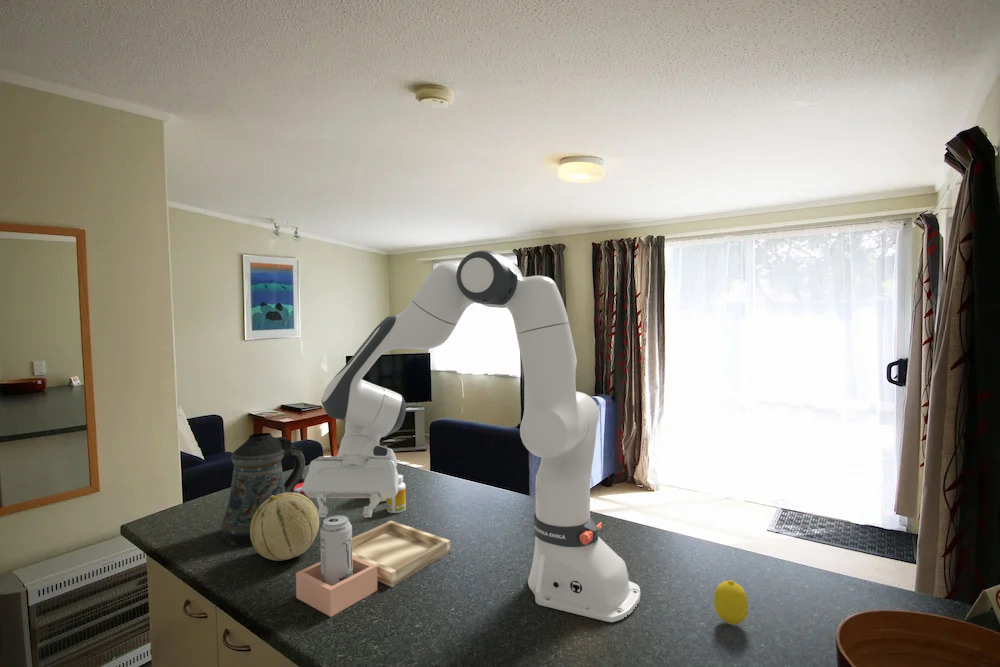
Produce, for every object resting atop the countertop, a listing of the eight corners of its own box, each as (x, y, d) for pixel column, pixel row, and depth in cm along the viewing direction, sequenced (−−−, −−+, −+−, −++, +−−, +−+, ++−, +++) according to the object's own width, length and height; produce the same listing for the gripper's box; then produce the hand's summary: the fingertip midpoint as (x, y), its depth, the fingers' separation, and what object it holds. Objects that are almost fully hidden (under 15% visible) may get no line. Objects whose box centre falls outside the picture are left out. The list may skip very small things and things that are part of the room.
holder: (377, 590, 102) (377, 565, 102) (330, 616, 93) (330, 590, 93) (343, 574, 108) (342, 551, 108) (296, 597, 99) (295, 572, 99)
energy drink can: (347, 602, 97) (346, 526, 97) (316, 602, 98) (315, 526, 97) (357, 586, 103) (355, 513, 103) (327, 585, 104) (326, 513, 103)
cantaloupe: (333, 552, 118) (331, 489, 118) (274, 579, 106) (273, 509, 106) (295, 537, 127) (294, 478, 126) (237, 561, 114) (235, 495, 114)
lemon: (738, 615, 93) (738, 572, 92) (754, 634, 87) (754, 588, 87) (708, 616, 92) (708, 573, 92) (722, 635, 87) (723, 589, 87)
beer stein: (205, 540, 125) (203, 440, 124) (265, 511, 143) (263, 424, 142) (258, 550, 120) (256, 445, 119) (313, 518, 138) (312, 428, 137)
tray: (450, 553, 118) (450, 540, 117) (391, 587, 103) (391, 572, 103) (391, 532, 129) (391, 520, 129) (331, 560, 115) (331, 546, 114)
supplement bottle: (408, 506, 146) (407, 473, 146) (402, 513, 141) (402, 479, 141) (390, 506, 147) (389, 473, 147) (384, 513, 142) (383, 479, 141)
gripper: (308, 449, 113) (290, 509, 103) (399, 449, 112) (389, 509, 103) (316, 463, 117) (299, 522, 108) (403, 463, 117) (395, 522, 108)
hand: (344, 516), depth 105 cm, fingers open, 8 cm apart
